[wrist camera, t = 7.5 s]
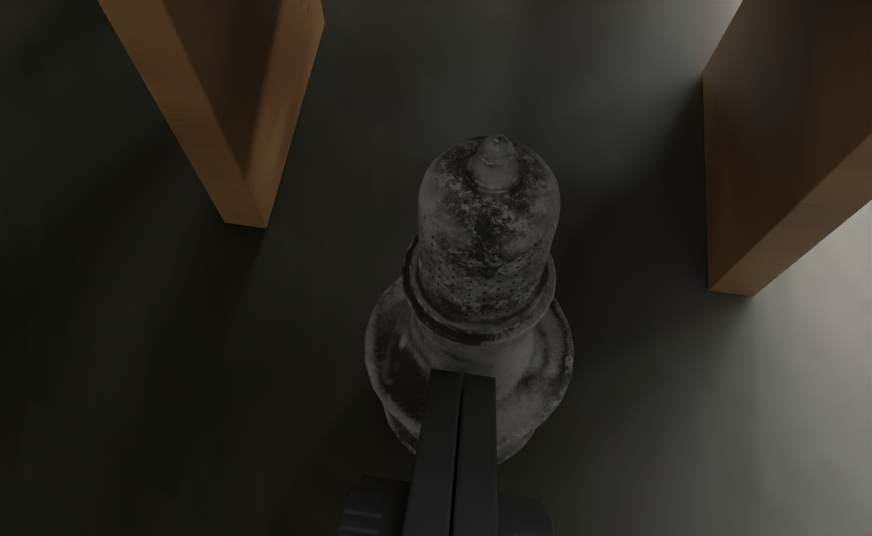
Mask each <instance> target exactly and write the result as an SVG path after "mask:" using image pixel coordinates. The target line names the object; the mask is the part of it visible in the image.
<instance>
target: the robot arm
mask: <svg viewBox="0 0 872 536" xmlns="http://www.w3.org/2000/svg"><path fill="white" fill-rule="evenodd" d="M461 377H462V373H460V372H453V371H446V370H439V369H432V368H431V370H430V376H429V382H428V388H427V393H426V399H425V405H424V411H423V417H422V422H421V428H420V434H419V440H418V445H417V451H416V457H415V463H414V469H413V474H412V480H411V482H407V481H400V480H393V479H387V478H380V477H373V476H366V475H364V476H363V477H362V478H361V479H360V480H359V481H358V482H357V483H356V484H355V485H354V486H353V487H352V488H351V489H350V490H349V492H348V496H347V499H346V502H345V505H344V509H343V514H342V515H341V519H340V522H339V525H338V530H337V532H336V535H335V536H556V532H555V525H554V519H553V517H552V515H551V514H550V512H549V511H548V509H547V508H546V506H545V505H544V503H543V501H542V500H541V499H535V498H528V497H521V496H514V495H507V494H501V493H497V432H496V377H489V376H481V375H474V374H467V373H464V380H463V387H462V393H461V400H460V390H461ZM459 402H460V407H459Z"/></svg>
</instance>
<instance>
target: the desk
mask: <svg viewBox="0 0 872 536" xmlns="http://www.w3.org/2000/svg"><path fill="white" fill-rule="evenodd" d="M97 1H98V2H99V4H100V6H101V8H102V9H103V11H104V13H105V14H106V16H107V18H108V20H109V21H110V23H111V25H112V27H113V28H114V30H115V32H116V34H117V35H118V37H119V39H120V41H121V42H122V44H123V46H124V48H125V49H126V51H127V53H128V55H129V56H130V58H131V60H132V62H133V63H134V65H135V67H136V69H137V70H138V72H139V74H140V75H141V77H142V79H143V81H144V82H145V84H146V86H147V88H148V89H149V91H150V93H151V95H152V96H153V98H154V100H155V102H156V103H157V105H158V107H159V109H160V110H161V112H162V114H163V116H164V117H165V119H166V121H167V123H168V124H169V126H170V128H171V129H172V131H173V133H174V135H175V136H176V138H177V140H178V142H179V143H180V145H181V147H182V149H183V150H184V152H185V154H186V156H187V157H188V159H189V161H190V163H191V164H192V166H193V168H194V170H195V171H196V173H197V175H198V177H199V178H200V180H201V182H202V184H203V185H204V187H205V189H206V190H207V192H208V194H209V196H210V197H211V199H212V201H213V203H214V204H215V206H216V208H217V210H218V211H219V213H220V215H221V217H222V218H223V220H224V222H225V223H231V224H238V225H245V226H252V227H260V228H267V226H268V222H269V219H270V215H271V212H272V208H273V205H274V201H275V198H276V194H277V191H278V187H279V183H280V180H281V176H282V173H283V169H284V166H285V162H286V159H287V155H288V152H289V148H290V145H291V141H292V138H293V134H294V131H295V127H296V124H297V120H298V117H299V113H300V110H301V106H302V102H303V99H304V95H305V92H306V88H307V85H308V81H309V78H310V74H311V71H312V67H313V64H314V60H315V57H316V53H317V50H318V46H319V43H320V39H321V36H322V32H323V29H324V25H325V22H324V17H323V11H322V6H321V0H97ZM703 99H704V138H705V177H706V216H707V254H708V290H709V291H716V292H724V293H731V294H738V295H745V296H754V295H756V294H757V293H758V292H759V291H761V290H762V289H763V288H764V287H765V286H767V285H768V284H769V283H770V282H772V281H773V280H774V279H775V278H776V277H778V276H779V275H780V274H781V273H783V272H784V271H785V270H786V269H787V268H789V267H790V266H791V265H792V264H794V263H795V262H796V261H797V260H798V259H800V258H801V257H802V256H803V255H805V254H806V253H807V252H808V251H809V250H811V249H812V248H813V247H814V246H816V245H817V244H818V243H819V242H820V241H822V240H823V239H824V238H825V237H827V236H828V235H829V234H830V233H831V232H833V231H834V230H835V229H836V228H838V227H839V226H840V225H841V224H842V223H844V222H845V221H846V220H847V219H849V218H850V217H851V216H852V215H853V214H855V213H856V212H857V211H858V210H860V209H861V208H862V207H863V206H864V205H866V204H867V203H868V202H869V201H870V200H872V0H743V1H742V3H741V5H740V7H739V8H738V10H737V12H736V14H735V15H734V17H733V19H732V21H731V22H730V24H729V26H728V28H727V30H726V31H725V33H724V35H723V37H722V38H721V40H720V42H719V44H718V45H717V47H716V49H715V51H714V53H713V54H712V56H711V58H710V60H709V61H708V63H707V65H706V67H705V68H704V70H703Z"/></svg>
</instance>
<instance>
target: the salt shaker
mask: <svg viewBox="0 0 872 536" xmlns="http://www.w3.org/2000/svg"><path fill="white" fill-rule="evenodd" d="M560 207H561V201H560V192H559V187H558V182H557V179H556V177H555V176H554V174H553V172H552V170H551V168H550V167H549V166H548V165H547V163H546V162H545V161H544V160H543V159H542V158H541V157H540V156H539V155H538V154H537V153H536V152H535V151H533V150H532V149H530V148H528V147H527V146H525V145H524V144H522V143H520V142H517V141H514V140H512V139H509V138H507V137H505V136H504V135H502V134H501V133H498V132H497V133H495V134H492V135H490V136H483V137H475V138H471V139H468V140H464V141H462V142H460V143H458V144H456V145H454V146H452V147H450V148H448V149H447V150H445V151H444V152H442V153H441V154H440V155H439V156H438V157H437V158H436V159H434V160H433V162H432V163H431V165H430V166H429V168H428V169H427V171H426V172H425V174H424V177H423V180H422V183H421V187H420V190H419V194H418V235H417V236H416V237H415V238H414V240H413V242H412V243H411V245H410V246H409V248H408V250H407V252H406V255H405V259H404V263H403V266H402V275H401V276H400V277H399V278H398V279H397V280H396V281H395V282H394V283H393V284H392V285H391V286H390V287H389V288H388V289H386V290H385V291H384V293H383V294H382V296H381V298H380V299H379V301H378V303H377V304H376V306H375V307H374V309H373V311H372V312H371V316H370V319H369V323H368V326H367V330H366V333H365V364H366V367H367V370H368V374H369V377H370V380H371V384H372V387H373V389H374V390H375V392H376V394H377V395H378V397H379V398H380V400H381V401H382V404H383V407H384V410H385V414H386V417H387V420H388V423H389V425H390V427H391V428H392V430H393V431H394V433H395V435H396V436H397V438H398V439H399V441H400V442H401V443H402V444H403V445H404V446H405V447H406V448H408V449H409V450H410V451H411V452H412V453H413V454H414V455H415V456H416V451H417V445H418V440H419V434H420V428H421V422H422V417H423V411H424V405H425V399H426V393H427V388H428V382H429V376H430V370H431V368H432V369H439V370H446V371H453V372H460V373H462V377H461V390H460V400H461V393H462V387H463V380H464V373H467V374H474V375H481V376H489V377H496V432H497V464H500V463H503V462H504V461H506V460H507V459H508V458H510V457H511V456H513V455H514V454H516V453H517V452H519V451H520V450H521V449H522V448H523V446H524V445H525V444H526V443H527V441H528V440H529V439H530V438H531V437H532V435H533V434H534V432H535V430H536V427H537V426H539V425H540V424H542V423H543V422H545V420H546V419H547V418H548V417H549V415H550V414H551V413H552V412H553V411H554V409H555V408H556V407H557V406H558V404H559V403H560V402H561V401H562V398H563V396H564V394H565V391H566V389H567V386H568V384H569V382H570V379H571V377H572V370H573V360H574V345H573V340H572V335H571V329H570V325H569V323H568V321H567V319H566V317H565V315H564V313H563V311H562V309H561V307H560V305H559V303H558V302H557V300H556V299H555V298H554V293H555V285H556V272H555V266H554V261H553V258H552V256H551V254H550V252H549V251H550V248H551V245H552V241H553V238H554V235H555V231H556V228H557V225H558V221H559V215H560ZM459 407H460V402H459Z"/></svg>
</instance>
